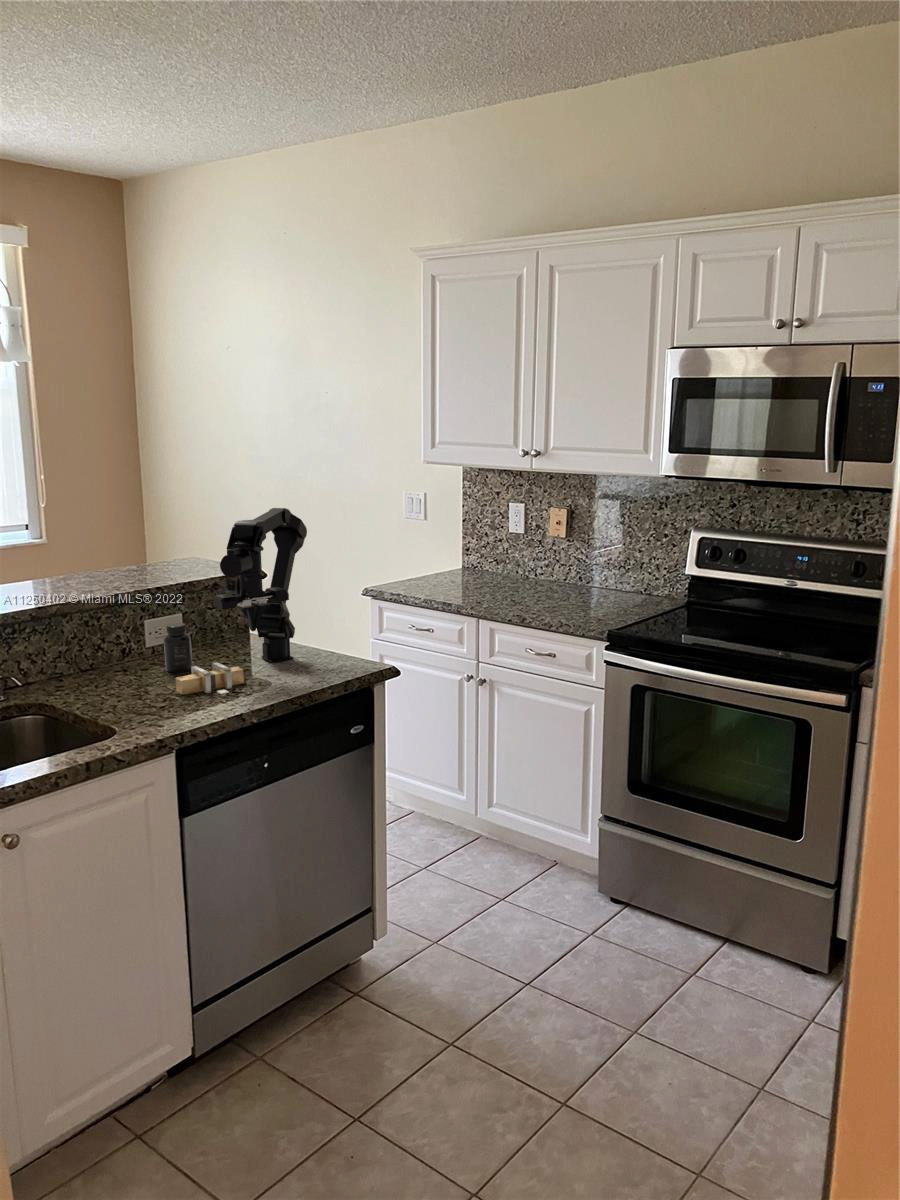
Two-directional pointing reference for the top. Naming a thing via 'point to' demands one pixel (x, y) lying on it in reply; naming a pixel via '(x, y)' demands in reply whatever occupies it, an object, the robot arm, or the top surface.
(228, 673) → the collar
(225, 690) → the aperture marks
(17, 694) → the top surface
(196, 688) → the banded wooden block
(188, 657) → the supplement bottle
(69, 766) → the top surface
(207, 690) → the collar
